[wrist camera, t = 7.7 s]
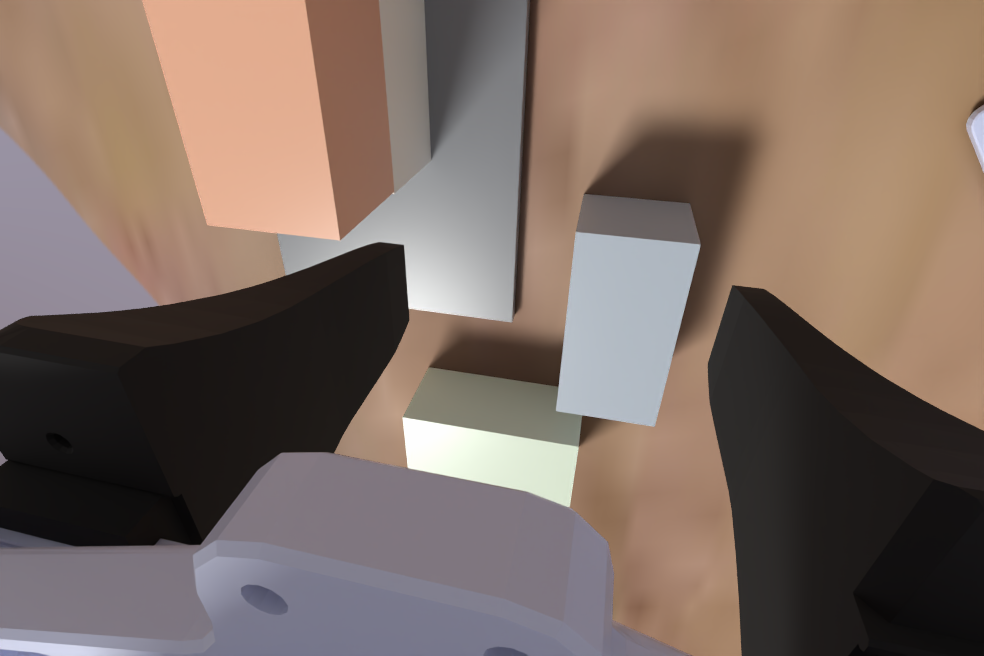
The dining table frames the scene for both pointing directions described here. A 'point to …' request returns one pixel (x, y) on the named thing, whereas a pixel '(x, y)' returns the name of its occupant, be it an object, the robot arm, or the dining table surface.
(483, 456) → the sage brick
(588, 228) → the slate brick
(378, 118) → the terracotta brick
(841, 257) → the dining table surface
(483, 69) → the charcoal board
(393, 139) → the cream brick
